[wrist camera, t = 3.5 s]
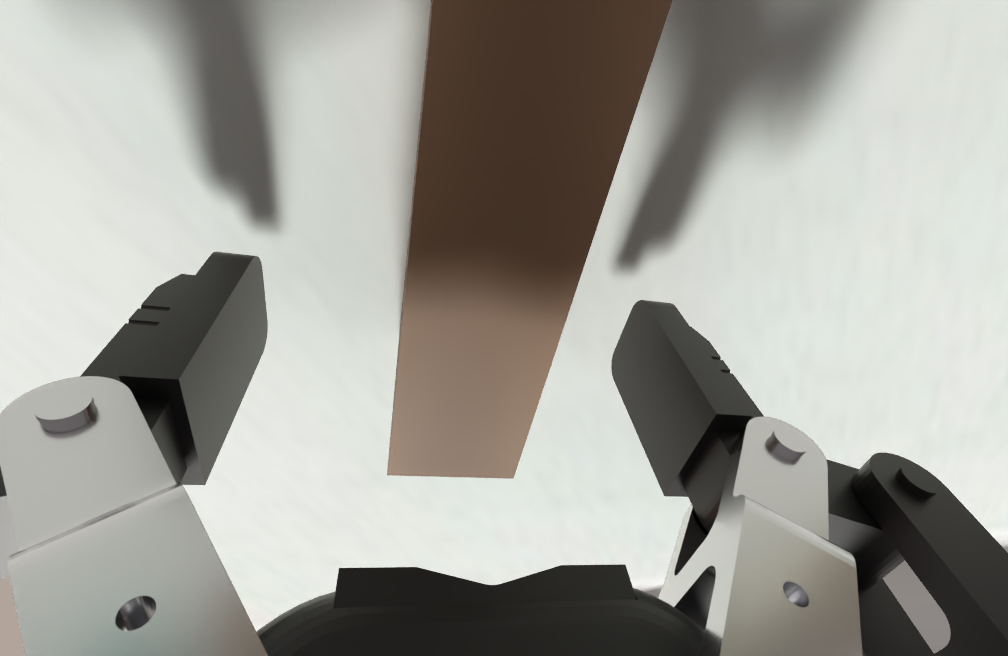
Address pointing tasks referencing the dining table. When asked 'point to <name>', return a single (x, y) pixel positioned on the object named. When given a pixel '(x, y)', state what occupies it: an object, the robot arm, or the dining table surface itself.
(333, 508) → the dining table surface
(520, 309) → the brown wooden plank
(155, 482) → the robot arm
